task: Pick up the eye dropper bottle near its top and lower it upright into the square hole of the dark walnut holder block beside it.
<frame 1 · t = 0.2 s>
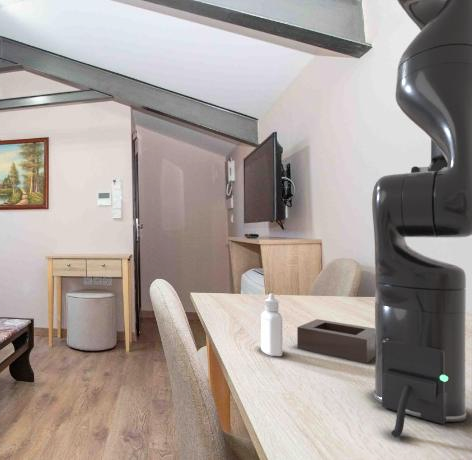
hand: (455, 211, 82), 29 cm above the table, tool pointing down, fingers open, 8 cm apart
eye dropper bottle: (271, 353, 78), on the table
holder: (339, 349, 79), on the table
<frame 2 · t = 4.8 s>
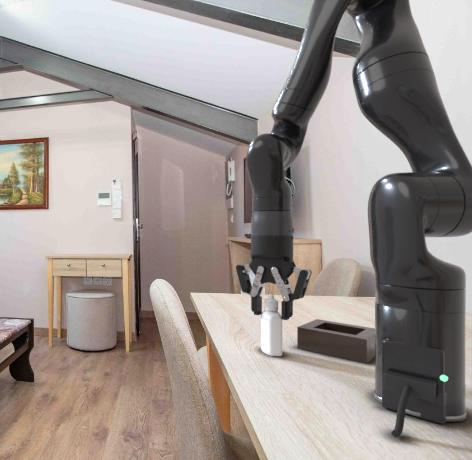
hand: (271, 316, 78), 7 cm above the table, tool pointing down, fingers closed on eye dropper bottle, 4 cm apart
eye dropper bottle: (271, 353, 78), on the table, touching gripper
when the fingers open (7 cm above the table, at t = 12.2 s): eye dropper bottle stays where it is, resting in holder.
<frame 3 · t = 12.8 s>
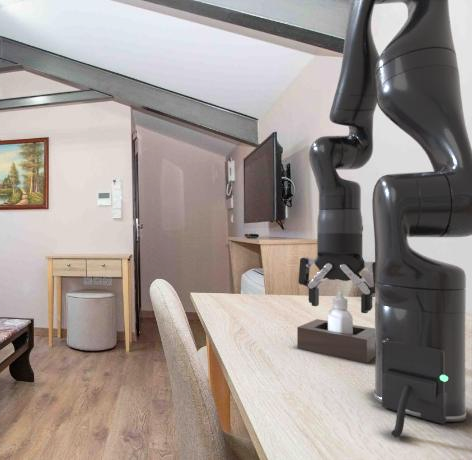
hand: (339, 309, 79), 9 cm above the table, tool pointing down, fingers open, 8 cm apart
eye dropper bottle: (339, 350, 79), resting in holder
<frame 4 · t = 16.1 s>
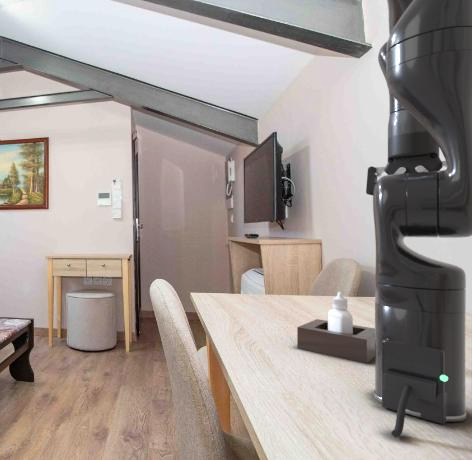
hand: (412, 214, 76), 28 cm above the table, tool pointing down, fingers open, 8 cm apart
nothing on the table moved.
at the end: eye dropper bottle 0.2 cm off-centre in the holder, point 0.0 cm above the holder's base; eye dropper bottle tilted 0°; the gripper is holding nothing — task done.
